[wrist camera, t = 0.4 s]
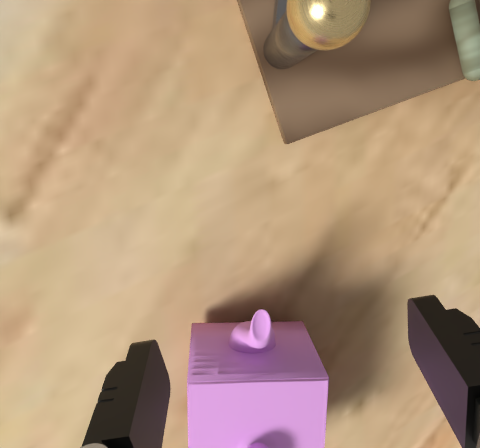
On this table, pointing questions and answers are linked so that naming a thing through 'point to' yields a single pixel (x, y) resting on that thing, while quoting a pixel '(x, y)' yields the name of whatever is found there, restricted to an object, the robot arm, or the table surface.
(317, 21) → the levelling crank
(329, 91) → the walnut base
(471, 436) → the robot arm
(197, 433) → the teapot
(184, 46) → the table surface
